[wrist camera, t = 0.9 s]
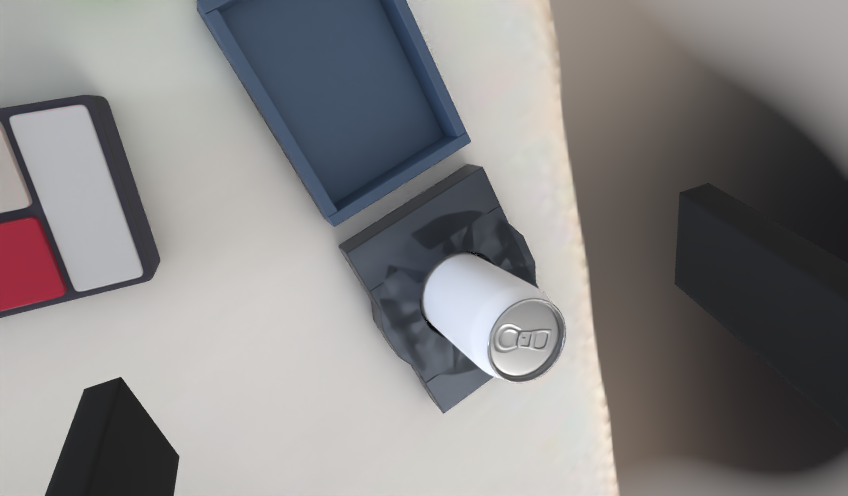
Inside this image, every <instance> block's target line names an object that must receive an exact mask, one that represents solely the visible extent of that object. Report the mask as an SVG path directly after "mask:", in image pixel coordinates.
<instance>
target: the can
mask: <svg viewBox="0 0 848 496" xmlns="http://www.w3.org/2000/svg"><path fill="white" fill-rule="evenodd" d="M419 298H420V307H421V314H422V315H423V316H424V317H425V318H426V319H427V320H428V321H429V322H430V323H431V324H432V325H433V326H434V327H435V328H436V329H437V330H439V331H440V332H441V333H442V334H443V335H444V336H445V337H446V338H447V339H448V340H449V341H450V342H452V343H453V344H454V345H455V346H456V347H457V348H458V349H459V350H460V351H461V352H463V353H464V354H465V355H466V356H467V357H468V358H469V359H470V360H471V361H472V362H474V363H475V364H476V365H477V366H478V367H479V368H481V369H482V370H483V371H484V372H486V373H488V374H489V375H491V376H494V377H497V378H502V379H504V380H506V381H508V382H511V383H526V382H530V381H533V380H535V379H537V378H539V377H541V376H542V375H544V374H545V373H546V372H547V371H549V370H550V369H551V368H552V366H553V365H554V364H555V363H556V361H557V360H558V358H559V356H560V354H561V352H562V350H563V347H564V343H565V338H566V327H565V322H564V318H563V316H562V314H561V312H560V311H559V309H558V308H557V307H556V306H555V305H554V304H553V303H552V301H551V300H550V299H549V297H548V296H547V295H546V294H545V293H544V292H542V291H541V290H540V289H538V288H536V287H535V286H533V285H531V284H529V283H527V282H526V281H524V280H522V279H520V278H518V277H516V276H514V275H512V274H510V273H508V272H507V271H505V270H503V269H501V268H499V267H497V266H495V265H493V264H491V263H489V262H487V261H485V260H483V259H481V258H480V257H478V256H476V255H473V254H471V253H469V252H467V251H462V252H458V253H453V254H450V255H448V256H447V257H445V258H444V259H442V260H441V261H439V262H438V263H436V264H435V265H434V266H433V268H432V269H431V270H430V272H429V273H428V275H427V276H426V277H425V279H424V282H423V286H422V289H421V293H420V296H419Z"/></svg>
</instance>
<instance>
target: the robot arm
mask: <svg viewBox="0 0 848 496" xmlns="http://www.w3.org/2000/svg"><path fill="white" fill-rule="evenodd" d="M675 284H676V285H677V286H678V287H679V288H680V289H681V290H683V291H684V292H685V293H686V294H687V295H689V297H691V298H692V299H693V300H694V301H695V302H696V303H697V304H699V305H700V306H701V307H702V308H703V309H704V310H706V311H707V312H708V313H709V314H710V315H711V316H712V317H714V318H715V319H716V320H717V321H718V322H719V323H721V324H722V325H723V326H724V327H725V328H726V329H727V330H729V331H730V332H731V333H732V334H733V335H734V336H735V337H737V338H738V339H739V340H740V341H741V342H742V343H744V344H745V345H746V346H747V347H748V348H749V349H751V350H752V351H753V352H754V353H755V354H756V355H757V356H759V357H760V358H761V359H762V360H763V361H764V362H765V363H767V364H768V365H769V366H770V367H771V368H772V369H773V370H775V371H776V372H777V373H778V374H779V375H780V376H782V377H783V378H784V379H785V380H786V381H787V382H788V383H790V384H791V385H792V386H793V387H794V388H795V389H797V390H798V391H799V392H800V393H801V394H802V395H803V396H805V397H806V398H807V399H808V400H809V401H810V402H811V403H813V404H814V405H815V406H816V407H817V408H818V409H820V410H821V411H822V412H823V413H824V414H825V415H826V416H828V417H829V418H830V419H831V420H832V421H834V422H835V423H836V424H837V425H838V426H839V427H840V428H842V429H843V430H844V431H845V432H846V433H847V434H848V264H847V263H846V262H844V261H842V260H841V259H839V258H837V257H835V256H834V255H832V254H830V253H829V252H827V251H825V250H823V249H822V248H820V247H818V246H816V245H815V244H813V243H811V242H810V241H808V240H806V239H804V238H803V237H801V236H799V235H797V234H795V233H794V232H792V231H790V230H789V229H787V228H785V227H784V226H782V225H780V224H778V223H777V222H775V221H773V220H771V219H769V218H768V217H766V216H765V215H763V214H761V213H759V212H758V211H756V210H754V209H753V208H751V207H749V206H747V205H746V204H744V203H742V202H741V201H739V200H737V199H735V198H734V197H732V196H730V195H728V194H727V193H725V192H723V191H721V190H720V189H718V188H716V187H715V186H713V185H711V184H709V183H707V184H704V185H701V186H698V187H695V188H692V189H689V190H686V191H683V192H680V196H679V214H678V232H677V250H676V268H675ZM178 462H179V455H178V454H177V453H176V451H175V450H174V448H173V447H172V446H171V444H170V443H169V442H168V440H167V439H166V438H165V436H164V435H163V433H162V432H161V431H160V429H159V428H158V427H157V425H156V424H155V423H154V421H153V420H152V418H151V417H150V416H149V414H148V413H147V412H146V410H145V409H144V407H143V406H142V405H141V403H140V402H139V401H138V399H137V398H136V397H135V395H134V394H133V392H132V391H131V390H130V388H129V387H128V386H127V384H126V383H125V382H124V380H123V379H122V377H119V378H116V379H113V380H110V381H107V382H104V383H101V384H98V385H95V386H92V387H89V388H86V389H84V392H83V394H82V397H81V400H80V402H79V405H78V408H77V410H76V413H75V416H74V419H73V421H72V424H71V427H70V429H69V432H68V435H67V437H66V440H65V443H64V446H63V448H62V451H61V454H60V456H59V459H58V462H57V464H56V467H55V470H54V472H53V475H52V478H51V481H50V483H49V486H48V489H47V491H46V494H45V496H174V489H175V483H176V476H177V469H178Z"/></svg>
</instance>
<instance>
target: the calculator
mask: <svg viewBox="0 0 848 496" xmlns="http://www.w3.org/2000/svg"><path fill="white" fill-rule="evenodd" d="M159 263H160V257H159V254H158V251H157V248H156V245H155V242H154V239H153V236H152V233H151V230H150V227H149V224H148V221H147V218H146V215H145V212H144V209H143V206H142V203H141V200H140V197H139V194H138V190H137V187H136V184H135V181H134V178H133V175H132V172H131V169H130V166H129V163H128V160H127V157H126V154H125V151H124V148H123V145H122V142H121V139H120V136H119V133H118V130H117V127H116V124H115V121H114V118H113V115H112V112H111V109H110V106H109V103H108V101H107V100H106V99H105V98H104V97H101V96H92V95H82V96H75V97H69V98H62V99H56V100H50V101H44V102H37V103H31V104H25V105H19V106H12V107H6V108H0V318H2V317H6V316H10V315H14V314H18V313H22V312H26V311H30V310H34V309H38V308H42V307H46V306H50V305H54V304H58V303H62V302H66V301H70V300H74V299H78V298H82V297H86V296H90V295H94V294H98V293H102V292H107V291H111V290H115V289H119V288H123V287H127V286H131V285H135V284H139V283H143V282H146V281H149V280H151V279H152V278H153V276H154V274H155V272H156V270H157V268H158V265H159Z"/></svg>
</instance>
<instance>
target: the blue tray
mask: <svg viewBox="0 0 848 496" xmlns="http://www.w3.org/2000/svg"><path fill="white" fill-rule="evenodd" d="M197 11H198V12H199V14H200V15H201V17H202V19H203V20H204V22H205V24H206V25H207V27H208V29H209V30H210V32H211V33H212V35H213V37H214V38H215V40H216V42H217V43H218V45H219V47H220V48H221V50H222V52H223V53H224V55H225V56H226V58H227V60H228V61H229V63H230V65H231V66H232V68H233V70H234V71H235V73H236V74H237V76H238V78H239V79H240V81H241V83H242V84H243V86H244V88H245V89H246V91H247V92H248V94H249V96H250V97H251V99H252V101H253V102H254V104H255V106H256V107H257V109H258V111H259V112H260V114H261V115H262V117H263V119H264V120H265V122H266V124H267V125H268V127H269V129H270V130H271V132H272V133H273V135H274V137H275V138H276V140H277V142H278V143H279V145H280V147H281V148H282V150H283V151H284V153H285V155H286V156H287V158H288V160H289V161H290V163H291V165H292V166H293V168H294V170H295V171H296V173H297V174H298V176H299V178H300V179H301V181H302V183H303V184H304V186H305V188H306V189H307V191H308V192H309V194H310V196H311V197H312V199H313V201H314V202H315V204H316V206H317V207H318V209H319V210H320V212H321V214H322V215H323V217H324V219H325V220H326V221H328V222H329V223H330V224H331V225H332V226H334V227H335V226H337V225H338V224H340V223H341V222H343V221H345V220H346V219H348V218H349V217H351V216H353V215H354V214H356V213H358V212H359V211H361V210H362V209H364V208H366V207H367V206H369V205H370V204H372V203H374V202H375V201H377V200H378V199H380V198H382V197H383V196H385V195H387V194H388V193H390V192H391V191H393V190H395V189H396V188H398V187H399V186H401V185H403V184H404V183H406V182H407V181H409V180H411V179H412V178H414V177H415V176H417V175H419V174H420V173H422V172H424V171H425V170H427V169H428V168H430V167H432V166H433V165H435V164H436V163H438V162H440V161H441V160H443V159H444V158H446V157H448V156H449V155H451V154H453V153H454V152H456V151H457V150H459V149H461V148H462V147H464V146H465V145H467V144H469V143H470V142H471V140H470V138H469V136H468V134H467V132H466V130H465V128H464V125H463V123H462V121H461V119H460V117H459V115H458V112H457V110H456V108H455V106H454V104H453V102H452V99H451V97H450V95H449V93H448V91H447V89H446V86H445V84H444V82H443V80H442V78H441V75H440V73H439V71H438V69H437V67H436V65H435V62H434V60H433V58H432V56H431V54H430V52H429V49H428V47H427V45H426V43H425V41H424V39H423V36H422V34H421V32H420V30H419V28H418V26H417V23H416V21H415V19H414V17H413V15H412V12H411V10H410V8H409V6H408V4H407V2H406V0H197Z"/></svg>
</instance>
